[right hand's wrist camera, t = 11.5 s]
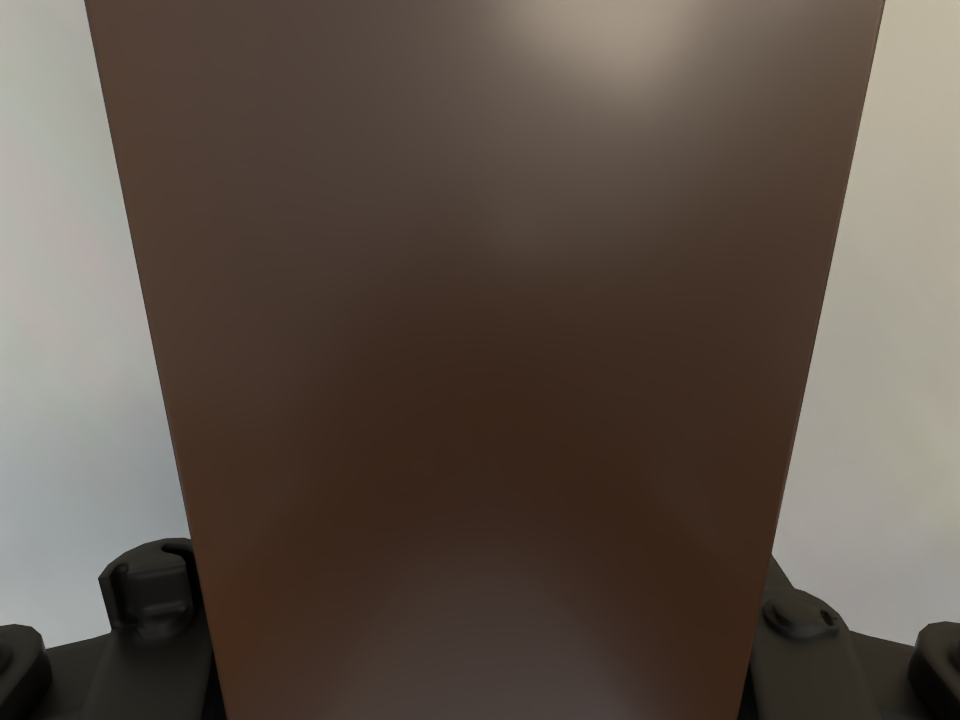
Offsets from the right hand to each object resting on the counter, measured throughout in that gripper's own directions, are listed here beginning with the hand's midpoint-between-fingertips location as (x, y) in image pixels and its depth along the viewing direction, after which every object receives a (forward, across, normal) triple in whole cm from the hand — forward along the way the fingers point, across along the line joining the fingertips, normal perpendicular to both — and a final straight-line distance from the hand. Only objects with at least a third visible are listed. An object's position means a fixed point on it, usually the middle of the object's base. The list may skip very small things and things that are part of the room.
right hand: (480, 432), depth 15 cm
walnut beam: (-1, 0, -12) cm, 12 cm away
